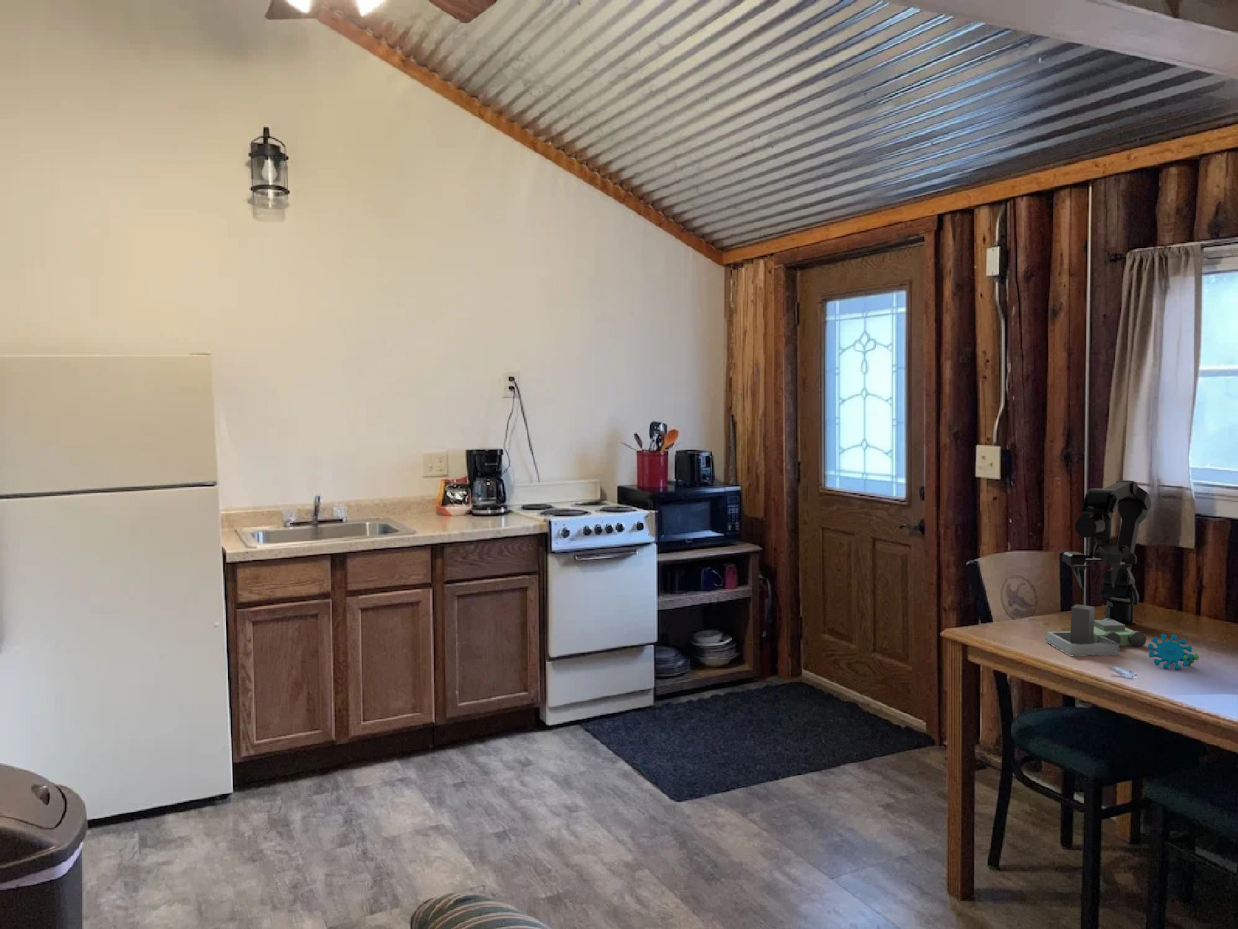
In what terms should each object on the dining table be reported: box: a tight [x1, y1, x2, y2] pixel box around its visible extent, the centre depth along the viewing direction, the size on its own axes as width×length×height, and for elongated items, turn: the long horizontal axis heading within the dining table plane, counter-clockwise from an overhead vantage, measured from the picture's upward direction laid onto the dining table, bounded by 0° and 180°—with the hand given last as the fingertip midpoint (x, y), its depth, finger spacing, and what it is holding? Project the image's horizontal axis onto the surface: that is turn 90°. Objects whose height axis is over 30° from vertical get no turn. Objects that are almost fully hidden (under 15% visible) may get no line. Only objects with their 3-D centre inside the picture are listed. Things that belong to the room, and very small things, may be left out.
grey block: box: [1070, 604, 1096, 644], centre depth 253 cm, size 4×4×11 cm
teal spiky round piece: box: [1147, 633, 1199, 671], centre depth 238 cm, size 11×6×10 cm
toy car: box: [1093, 617, 1147, 648], centre depth 262 cm, size 12×16×4 cm
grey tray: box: [1045, 630, 1121, 657], centre depth 253 cm, size 13×13×3 cm
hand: (1097, 587), depth 268 cm, fingers open, 9 cm apart
